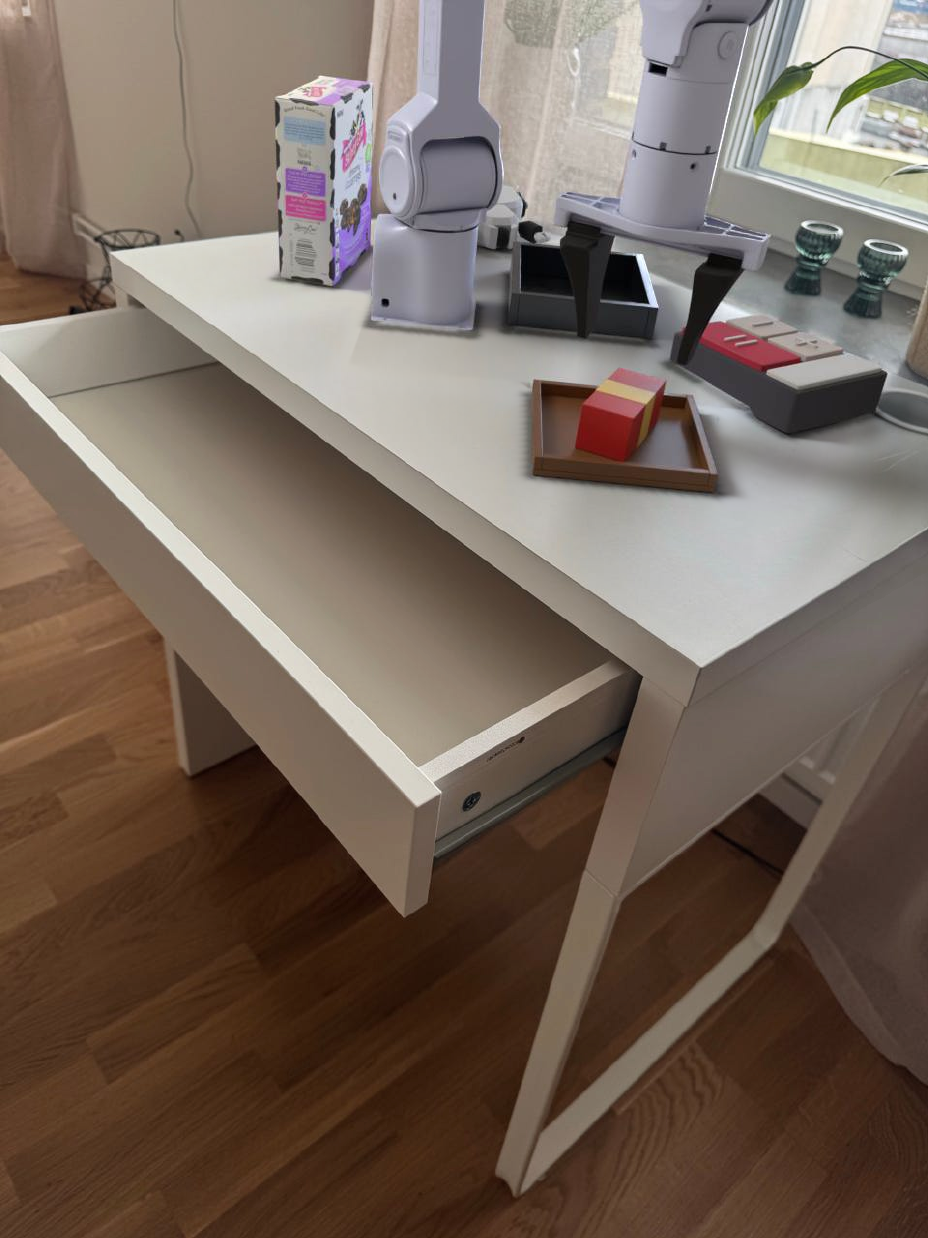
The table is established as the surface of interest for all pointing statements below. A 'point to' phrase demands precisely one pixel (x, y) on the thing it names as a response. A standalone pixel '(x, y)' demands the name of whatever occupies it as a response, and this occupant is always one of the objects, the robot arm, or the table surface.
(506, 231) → the robot toy
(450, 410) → the table surface
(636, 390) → the red yellow banded block
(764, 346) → the calculator
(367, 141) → the candy box
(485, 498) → the table surface
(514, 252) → the dark grey open bin
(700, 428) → the tray
